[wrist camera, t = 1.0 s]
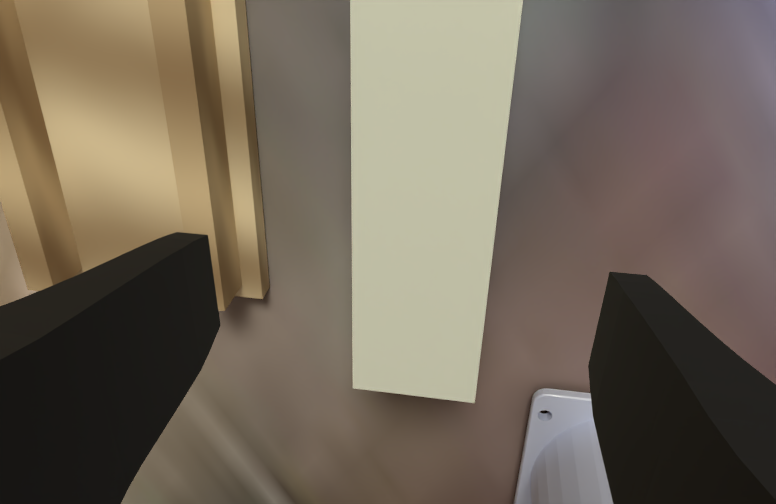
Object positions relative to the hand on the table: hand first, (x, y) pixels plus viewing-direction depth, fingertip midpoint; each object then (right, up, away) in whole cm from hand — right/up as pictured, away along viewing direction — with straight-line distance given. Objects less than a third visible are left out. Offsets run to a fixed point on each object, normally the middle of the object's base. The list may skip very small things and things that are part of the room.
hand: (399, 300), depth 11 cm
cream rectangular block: (+1, +4, +8) cm, 9 cm away
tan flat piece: (-8, +7, +8) cm, 13 cm away
